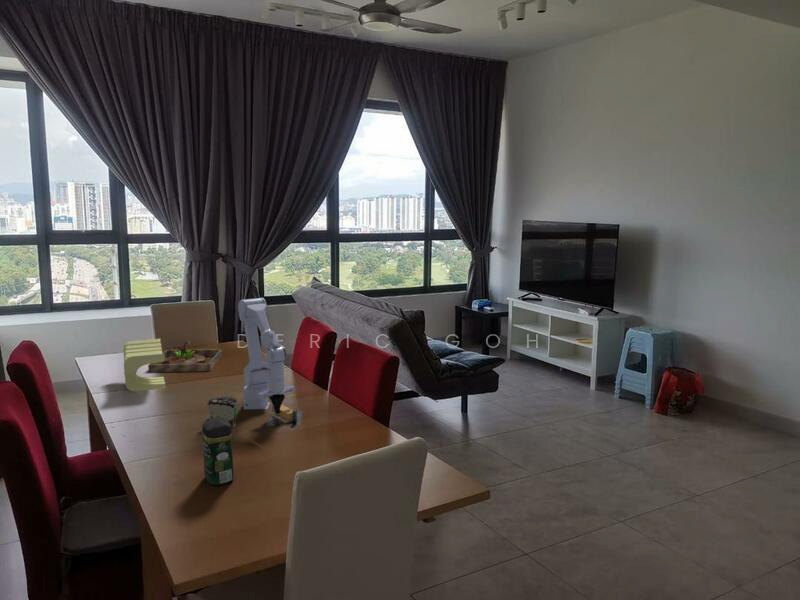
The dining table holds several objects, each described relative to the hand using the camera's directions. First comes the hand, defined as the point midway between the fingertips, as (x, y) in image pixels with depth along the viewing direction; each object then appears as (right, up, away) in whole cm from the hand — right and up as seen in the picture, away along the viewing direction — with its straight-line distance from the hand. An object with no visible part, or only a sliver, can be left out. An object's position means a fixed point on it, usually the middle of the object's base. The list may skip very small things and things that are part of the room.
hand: (277, 412), depth 235 cm
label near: (+4, -2, -1) cm, 5 cm away
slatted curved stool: (-67, +5, +39) cm, 77 cm away
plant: (-62, +11, +78) cm, 100 cm away
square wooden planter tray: (-61, +11, +76) cm, 98 cm away
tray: (+3, -3, 0) cm, 4 cm away
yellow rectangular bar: (+2, -1, +1) cm, 3 cm away
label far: (+1, -1, +2) cm, 3 cm away
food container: (-17, -4, -6) cm, 19 cm away
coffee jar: (-8, -11, -50) cm, 51 cm away
